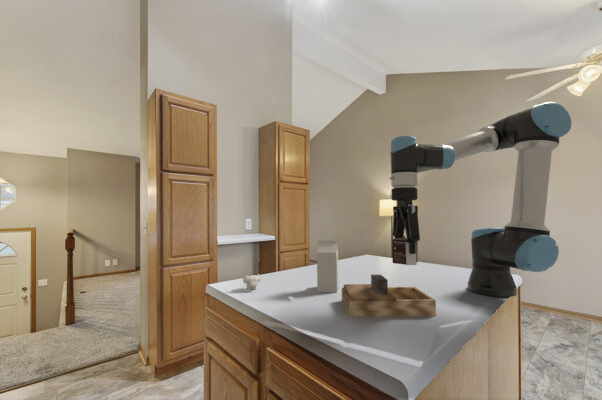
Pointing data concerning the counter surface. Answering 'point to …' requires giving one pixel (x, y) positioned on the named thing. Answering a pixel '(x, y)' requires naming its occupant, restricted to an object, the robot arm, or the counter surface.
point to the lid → (370, 290)
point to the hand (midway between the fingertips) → (405, 262)
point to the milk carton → (327, 266)
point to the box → (401, 250)
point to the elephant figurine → (251, 281)
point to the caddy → (393, 304)
